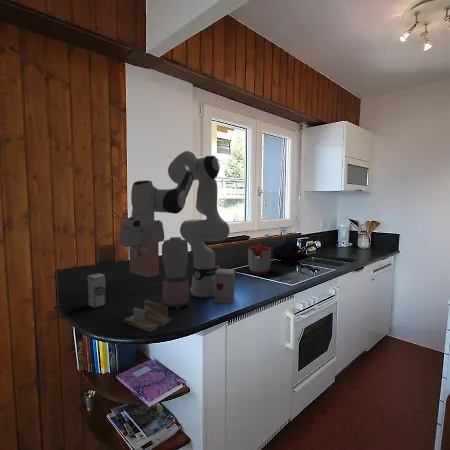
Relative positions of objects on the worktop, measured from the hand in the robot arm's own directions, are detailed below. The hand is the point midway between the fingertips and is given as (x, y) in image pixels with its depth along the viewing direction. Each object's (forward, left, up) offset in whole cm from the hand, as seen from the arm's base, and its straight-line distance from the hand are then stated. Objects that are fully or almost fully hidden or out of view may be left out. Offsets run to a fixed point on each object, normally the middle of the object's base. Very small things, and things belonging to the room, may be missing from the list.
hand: (143, 255), depth 122 cm
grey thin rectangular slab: (+5, +3, -26) cm, 26 cm away
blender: (-20, -3, -28) cm, 34 cm away
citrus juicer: (-95, +3, -28) cm, 99 cm away
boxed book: (0, 0, -8) cm, 8 cm away
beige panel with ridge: (+1, +3, -27) cm, 27 cm away
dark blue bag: (-133, +10, -28) cm, 137 cm away
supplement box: (-38, +14, -28) cm, 49 cm away
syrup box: (+2, -31, -28) cm, 42 cm away
